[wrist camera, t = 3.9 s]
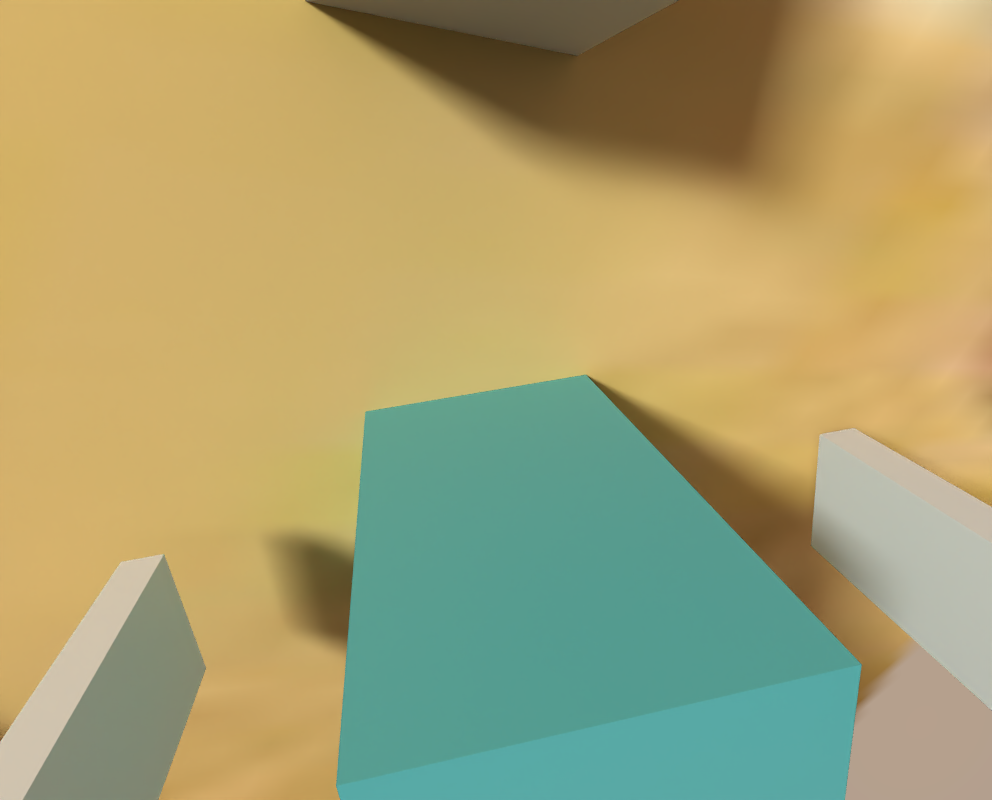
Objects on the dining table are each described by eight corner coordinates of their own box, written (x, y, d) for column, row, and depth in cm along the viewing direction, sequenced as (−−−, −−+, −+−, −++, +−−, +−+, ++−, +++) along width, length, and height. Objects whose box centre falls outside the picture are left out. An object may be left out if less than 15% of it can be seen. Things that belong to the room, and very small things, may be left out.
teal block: (404, 596, 16) (426, 1087, 7) (365, 411, 14) (335, 786, 6) (598, 558, 16) (823, 972, 8) (586, 374, 14) (861, 664, 6)
